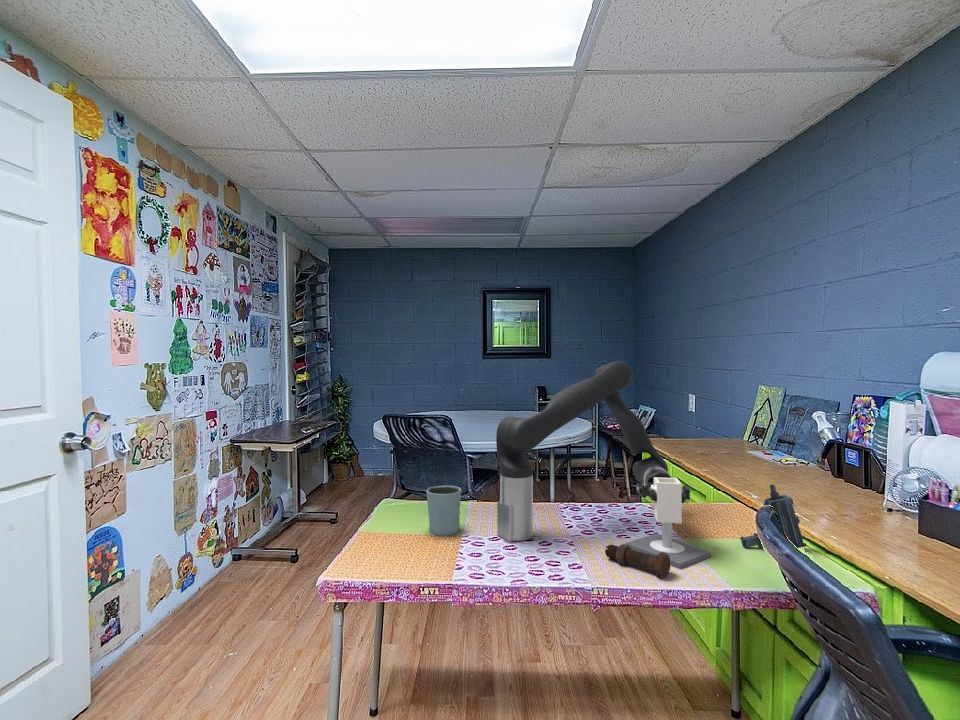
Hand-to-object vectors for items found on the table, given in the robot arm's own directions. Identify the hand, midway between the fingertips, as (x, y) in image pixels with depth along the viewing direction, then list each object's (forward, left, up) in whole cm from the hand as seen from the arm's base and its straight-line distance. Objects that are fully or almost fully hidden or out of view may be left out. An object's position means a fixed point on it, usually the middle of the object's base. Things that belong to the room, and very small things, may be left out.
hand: (669, 498), depth 125 cm
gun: (+27, -12, -15) cm, 33 cm away
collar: (+2, +2, -6) cm, 6 cm away
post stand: (+2, +2, -14) cm, 15 cm away
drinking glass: (-38, +48, -15) cm, 63 cm away
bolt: (-12, 0, -15) cm, 19 cm away
